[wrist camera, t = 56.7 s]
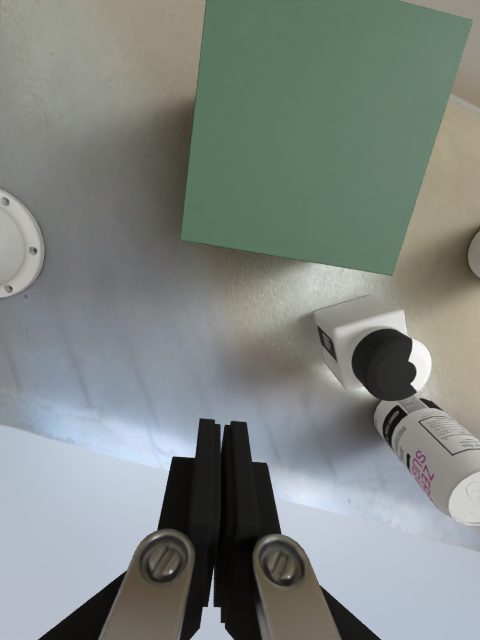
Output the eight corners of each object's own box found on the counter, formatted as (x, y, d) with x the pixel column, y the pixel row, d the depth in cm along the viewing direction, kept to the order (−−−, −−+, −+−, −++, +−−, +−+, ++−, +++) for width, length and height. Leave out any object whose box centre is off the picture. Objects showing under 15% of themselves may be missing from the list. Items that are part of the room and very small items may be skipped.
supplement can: (437, 413, 45) (537, 500, 31) (389, 445, 46) (465, 543, 32) (409, 375, 43) (503, 449, 29) (360, 409, 44) (427, 496, 30)
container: (324, 363, 42) (367, 420, 29) (312, 310, 40) (353, 348, 27) (379, 347, 42) (447, 398, 29) (370, 293, 39) (439, 323, 27)
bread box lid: (212, -39, 17) (211, -50, 17) (463, 27, 19) (473, 19, 18) (181, 239, 22) (180, 240, 21) (387, 274, 24) (392, 275, 23)
